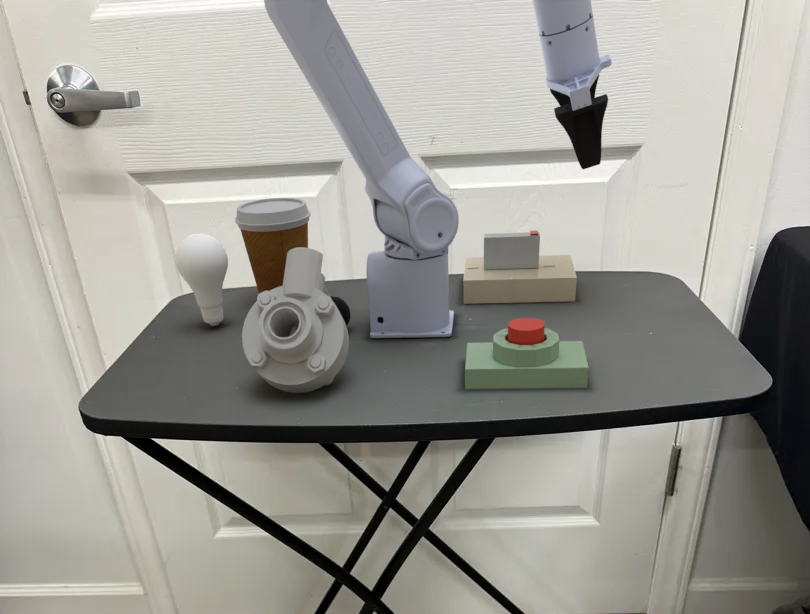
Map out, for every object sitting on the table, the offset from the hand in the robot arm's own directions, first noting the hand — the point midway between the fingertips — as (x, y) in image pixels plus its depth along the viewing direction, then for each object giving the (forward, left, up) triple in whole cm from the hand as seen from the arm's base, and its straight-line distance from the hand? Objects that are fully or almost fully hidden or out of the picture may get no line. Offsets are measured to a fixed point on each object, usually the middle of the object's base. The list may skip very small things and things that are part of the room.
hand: (587, 154), depth 91 cm
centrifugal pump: (-31, -22, -16) cm, 41 cm away
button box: (-8, -26, -16) cm, 32 cm away
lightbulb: (-46, -10, -16) cm, 49 cm away
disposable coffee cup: (-39, -1, -16) cm, 42 cm away
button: (-8, -26, -13) cm, 30 cm away
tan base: (-8, +1, -16) cm, 18 cm away
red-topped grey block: (-9, +1, -13) cm, 16 cm away
